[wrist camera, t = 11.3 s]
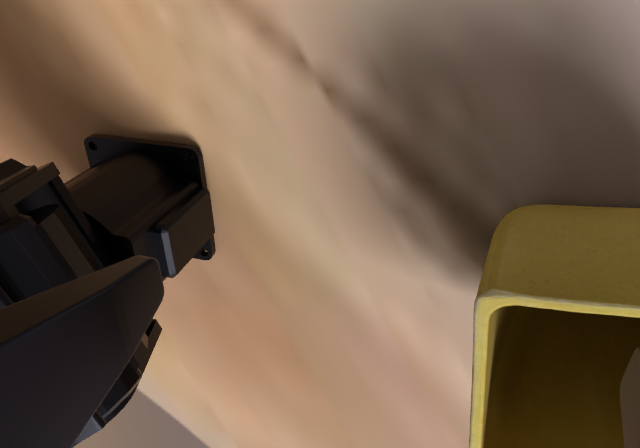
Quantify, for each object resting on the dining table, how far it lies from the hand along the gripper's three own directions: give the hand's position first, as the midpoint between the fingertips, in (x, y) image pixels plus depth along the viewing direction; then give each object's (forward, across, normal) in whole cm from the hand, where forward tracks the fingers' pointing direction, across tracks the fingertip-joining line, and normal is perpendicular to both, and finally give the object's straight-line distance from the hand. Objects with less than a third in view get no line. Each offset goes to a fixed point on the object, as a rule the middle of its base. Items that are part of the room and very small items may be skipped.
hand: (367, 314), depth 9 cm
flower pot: (+13, -7, +6) cm, 16 cm away
